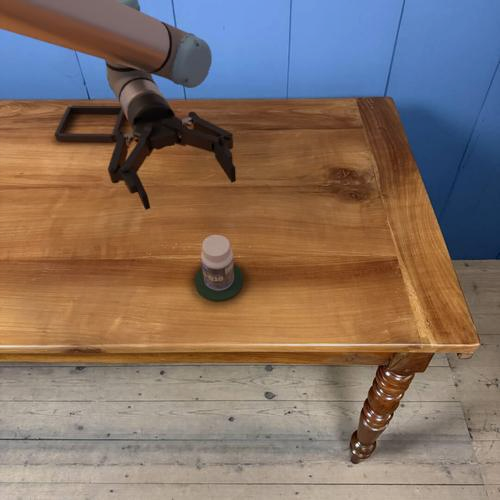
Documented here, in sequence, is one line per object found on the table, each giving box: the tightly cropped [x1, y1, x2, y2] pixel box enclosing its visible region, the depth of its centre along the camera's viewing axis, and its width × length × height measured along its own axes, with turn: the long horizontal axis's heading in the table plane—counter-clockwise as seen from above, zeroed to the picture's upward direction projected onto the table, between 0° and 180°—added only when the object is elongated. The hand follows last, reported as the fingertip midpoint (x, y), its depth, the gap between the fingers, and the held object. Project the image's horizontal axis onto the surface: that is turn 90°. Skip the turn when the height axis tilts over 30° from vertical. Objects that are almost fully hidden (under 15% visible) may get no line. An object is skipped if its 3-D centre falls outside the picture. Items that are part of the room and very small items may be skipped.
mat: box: [194, 262, 244, 303], centre depth 72 cm, size 8×8×1 cm
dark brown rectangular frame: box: [54, 104, 126, 143], centre depth 97 cm, size 13×11×2 cm
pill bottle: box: [200, 234, 234, 291], centre depth 68 cm, size 5×5×8 cm
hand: (191, 188), depth 67 cm, fingers open, 13 cm apart
